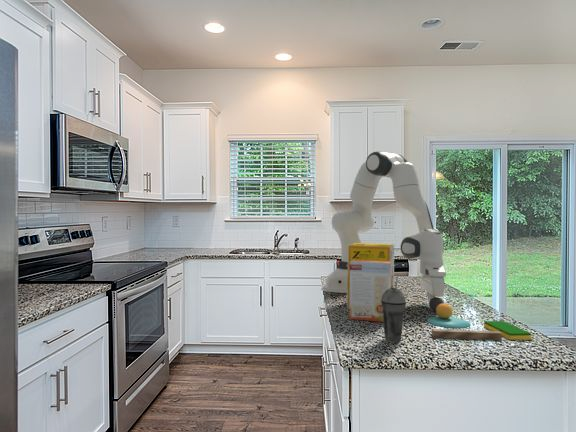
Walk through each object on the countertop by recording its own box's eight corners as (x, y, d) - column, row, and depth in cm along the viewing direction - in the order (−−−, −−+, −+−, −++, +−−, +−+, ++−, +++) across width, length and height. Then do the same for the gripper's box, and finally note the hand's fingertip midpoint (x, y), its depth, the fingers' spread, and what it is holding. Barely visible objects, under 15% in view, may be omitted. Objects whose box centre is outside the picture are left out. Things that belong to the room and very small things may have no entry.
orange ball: (433, 313, 147) (437, 321, 142) (435, 300, 146) (439, 308, 140) (449, 313, 147) (453, 322, 142) (450, 300, 145) (455, 308, 140)
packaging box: (355, 299, 173) (355, 242, 173) (393, 303, 167) (394, 244, 167) (347, 308, 158) (347, 245, 158) (388, 312, 152) (389, 247, 152)
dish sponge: (509, 341, 120) (509, 333, 120) (483, 328, 134) (483, 320, 134) (531, 341, 121) (531, 333, 121) (503, 327, 135) (503, 320, 135)
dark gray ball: (427, 295, 157) (427, 308, 157) (431, 299, 151) (431, 313, 152) (441, 295, 156) (441, 309, 157) (446, 299, 151) (445, 313, 151)
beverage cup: (377, 336, 122) (378, 271, 122) (400, 336, 123) (401, 271, 122) (385, 344, 115) (385, 275, 115) (409, 344, 115) (410, 275, 115)
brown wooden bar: (433, 337, 122) (433, 331, 122) (431, 335, 124) (431, 329, 124) (501, 339, 120) (501, 333, 120) (498, 337, 122) (498, 331, 122)
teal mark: (433, 327, 132) (433, 326, 132) (422, 316, 146) (422, 315, 146) (477, 328, 131) (477, 328, 131) (462, 317, 145) (462, 317, 145)
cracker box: (390, 319, 143) (391, 260, 142) (389, 323, 137) (390, 262, 137) (351, 315, 147) (352, 259, 147) (348, 319, 141) (349, 260, 141)
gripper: (417, 265, 171) (417, 297, 171) (430, 272, 151) (429, 309, 151) (432, 265, 171) (432, 298, 171) (447, 273, 150) (446, 309, 150)
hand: (431, 303), depth 161 cm, fingers closed
